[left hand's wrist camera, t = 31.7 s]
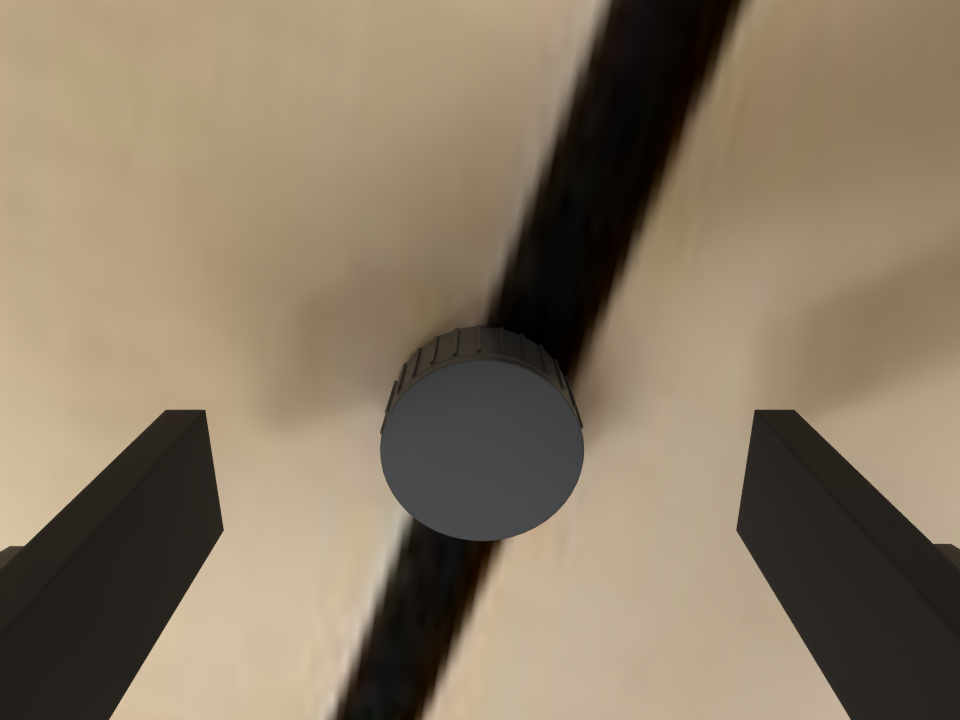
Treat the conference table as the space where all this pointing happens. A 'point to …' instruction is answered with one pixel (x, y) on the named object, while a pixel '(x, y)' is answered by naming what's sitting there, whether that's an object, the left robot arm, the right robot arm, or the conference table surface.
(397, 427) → the cap
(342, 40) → the conference table surface
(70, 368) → the conference table surface
